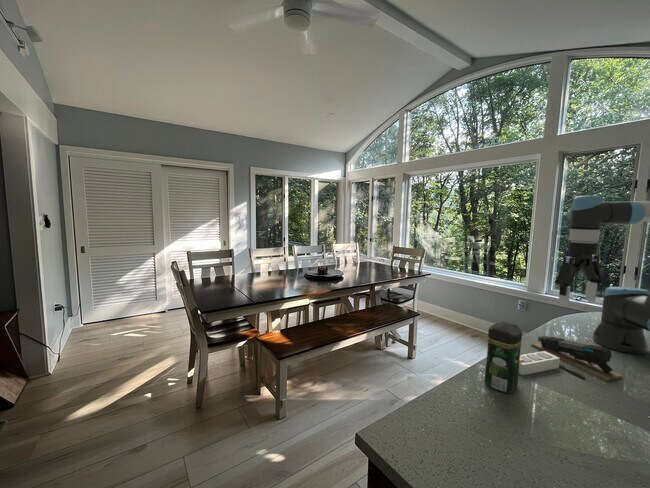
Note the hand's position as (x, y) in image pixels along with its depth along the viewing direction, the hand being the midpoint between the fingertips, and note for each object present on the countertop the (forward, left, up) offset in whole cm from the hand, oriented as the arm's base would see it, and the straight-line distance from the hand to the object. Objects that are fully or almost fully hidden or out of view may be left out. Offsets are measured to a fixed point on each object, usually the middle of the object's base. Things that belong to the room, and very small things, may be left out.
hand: (576, 302), depth 100 cm
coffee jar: (+38, +6, -21) cm, 44 cm away
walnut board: (+1, +1, -20) cm, 20 cm away
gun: (+1, +1, -20) cm, 20 cm away
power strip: (+18, +5, -20) cm, 28 cm away
